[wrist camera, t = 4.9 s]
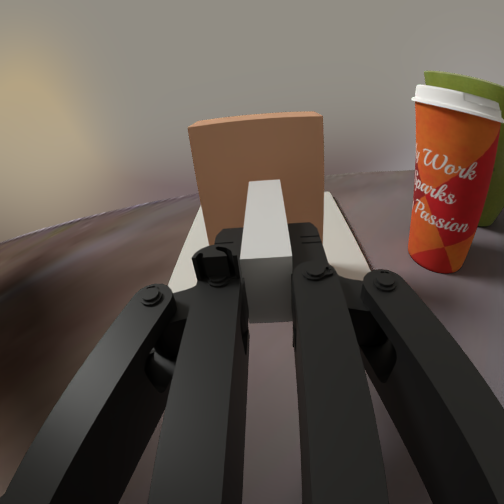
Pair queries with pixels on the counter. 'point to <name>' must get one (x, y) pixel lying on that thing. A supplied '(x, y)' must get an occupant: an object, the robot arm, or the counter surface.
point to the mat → (334, 242)
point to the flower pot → (500, 188)
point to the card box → (259, 165)
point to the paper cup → (450, 173)
